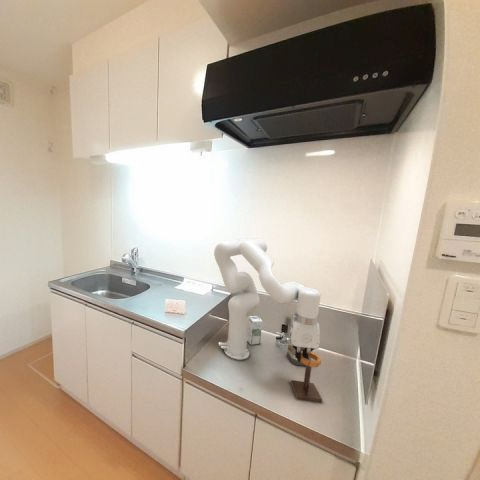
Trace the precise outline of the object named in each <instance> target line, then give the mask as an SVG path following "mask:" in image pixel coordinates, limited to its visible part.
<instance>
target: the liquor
mask: <svg viewBox="0 0 480 480" xmlns="http://www.w3.org/2000/svg"><path fill="white" fill-rule="evenodd" d="M290 329H291V326H290V327H289V330H290ZM289 334H290V332H289ZM303 349H305V347H300V352H301V351H303ZM295 352H296V350H295V349H294V348H293V347H292V346H289V345H288V344H287V353H286V356H287V358H288V359H289V361H290V362H291V364H292V365H295V366H300V367H306V365H305V364H303V363H301V362H299V361H298V360H297V358H296V357H295ZM311 352H313V350H312V351H311ZM308 360H312V358H310V357H308Z"/></svg>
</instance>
